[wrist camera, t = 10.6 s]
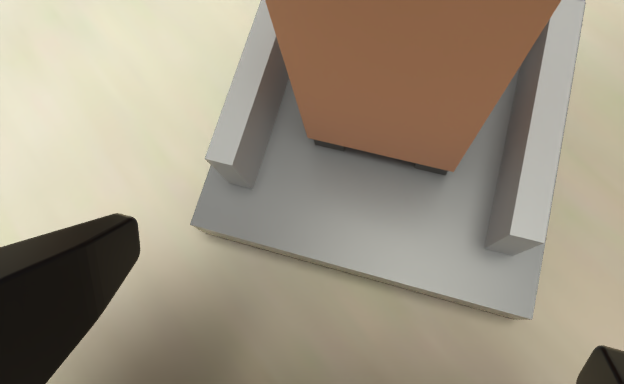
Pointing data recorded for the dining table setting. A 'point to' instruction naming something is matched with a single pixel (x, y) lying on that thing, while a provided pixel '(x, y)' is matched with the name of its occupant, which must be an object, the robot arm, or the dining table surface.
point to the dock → (397, 183)
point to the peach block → (403, 70)
